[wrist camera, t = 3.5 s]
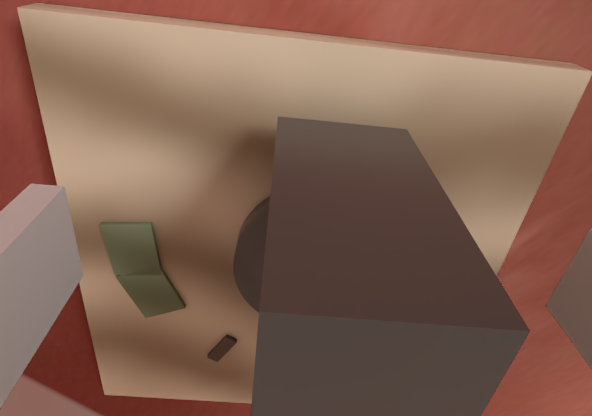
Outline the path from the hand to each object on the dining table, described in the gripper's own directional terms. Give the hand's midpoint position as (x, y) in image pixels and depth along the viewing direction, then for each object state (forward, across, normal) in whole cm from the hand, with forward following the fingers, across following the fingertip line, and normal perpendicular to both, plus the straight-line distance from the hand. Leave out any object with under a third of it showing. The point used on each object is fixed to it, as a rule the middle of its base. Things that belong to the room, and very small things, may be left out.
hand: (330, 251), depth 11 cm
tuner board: (+6, -1, -5) cm, 8 cm away
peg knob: (+5, 0, -5) cm, 7 cm away
